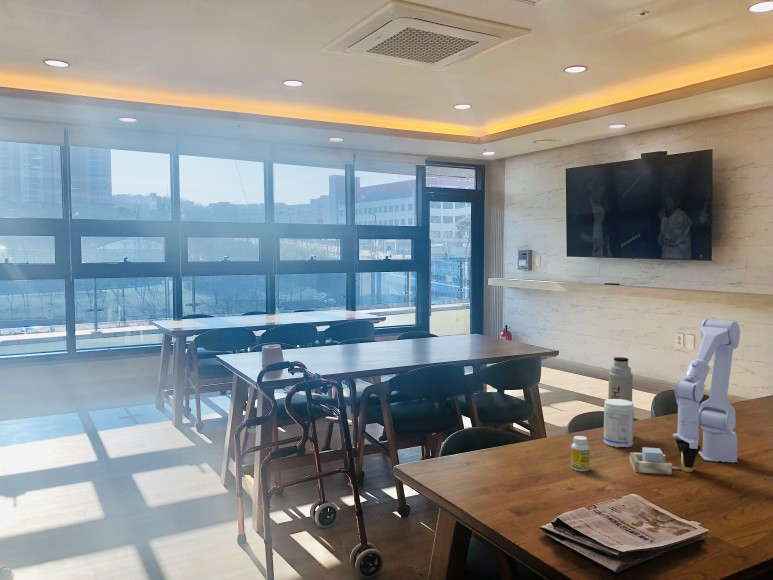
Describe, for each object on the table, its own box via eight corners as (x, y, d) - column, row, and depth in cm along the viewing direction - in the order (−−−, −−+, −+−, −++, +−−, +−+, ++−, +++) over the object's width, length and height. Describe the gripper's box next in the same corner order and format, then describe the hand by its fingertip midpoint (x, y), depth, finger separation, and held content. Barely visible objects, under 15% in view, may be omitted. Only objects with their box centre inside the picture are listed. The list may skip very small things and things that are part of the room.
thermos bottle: (619, 439, 220) (621, 360, 218) (602, 433, 227) (604, 356, 225) (636, 436, 223) (638, 358, 222) (619, 431, 231) (620, 355, 229)
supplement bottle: (578, 464, 194) (579, 434, 194) (593, 469, 190) (593, 438, 189) (567, 467, 191) (567, 436, 191) (581, 472, 187) (581, 441, 186)
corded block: (690, 467, 191) (690, 450, 191) (694, 473, 186) (695, 455, 186) (641, 464, 194) (642, 447, 194) (644, 470, 189) (645, 452, 189)
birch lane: (664, 463, 195) (664, 454, 195) (671, 474, 186) (671, 464, 185) (629, 461, 197) (629, 452, 197) (635, 471, 188) (635, 462, 188)
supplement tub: (613, 438, 222) (614, 397, 221) (638, 444, 214) (639, 402, 213) (597, 443, 216) (598, 401, 215) (623, 450, 208) (624, 406, 207)
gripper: (668, 413, 196) (667, 456, 197) (679, 426, 182) (678, 472, 183) (692, 415, 195) (691, 458, 195) (706, 427, 180) (704, 474, 181)
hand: (686, 465), depth 189 cm, fingers closed on corded block, 3 cm apart
